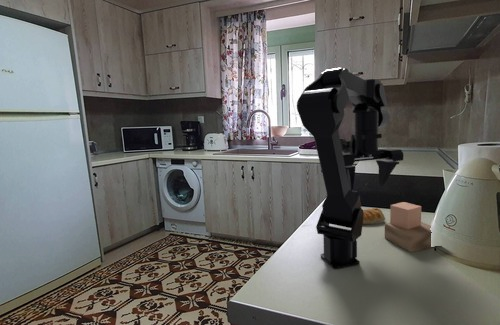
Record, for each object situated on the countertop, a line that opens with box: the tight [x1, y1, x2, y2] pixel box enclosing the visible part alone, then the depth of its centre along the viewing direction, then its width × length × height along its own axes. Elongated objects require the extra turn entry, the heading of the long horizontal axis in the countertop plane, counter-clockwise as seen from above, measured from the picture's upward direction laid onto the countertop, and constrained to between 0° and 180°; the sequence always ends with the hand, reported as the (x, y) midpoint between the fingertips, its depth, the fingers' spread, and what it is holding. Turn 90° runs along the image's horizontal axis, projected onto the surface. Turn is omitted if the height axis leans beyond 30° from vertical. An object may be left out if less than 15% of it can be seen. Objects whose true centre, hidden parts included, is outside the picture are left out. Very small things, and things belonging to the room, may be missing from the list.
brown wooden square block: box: [384, 221, 432, 253], centre depth 74 cm, size 9×9×4 cm
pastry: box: [363, 207, 386, 225], centre depth 90 cm, size 9×7×4 cm
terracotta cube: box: [389, 201, 422, 229], centre depth 75 cm, size 5×5×5 cm
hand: (366, 189), depth 78 cm, fingers open, 9 cm apart
